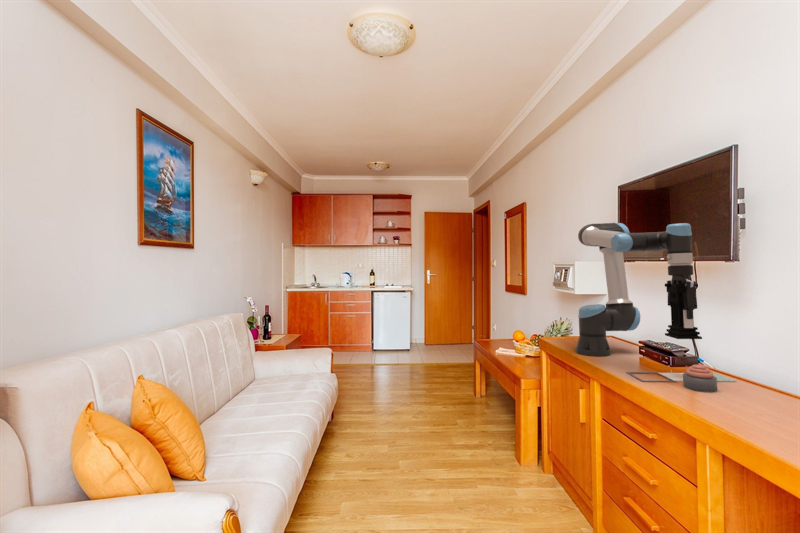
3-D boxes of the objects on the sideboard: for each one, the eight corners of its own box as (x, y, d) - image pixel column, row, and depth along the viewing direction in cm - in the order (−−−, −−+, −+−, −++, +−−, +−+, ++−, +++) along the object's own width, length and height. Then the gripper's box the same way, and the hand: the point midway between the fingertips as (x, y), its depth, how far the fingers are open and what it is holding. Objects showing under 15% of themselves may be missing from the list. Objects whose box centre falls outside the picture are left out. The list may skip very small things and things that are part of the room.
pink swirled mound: (681, 372, 129) (680, 363, 129) (703, 372, 128) (703, 363, 128) (695, 378, 122) (694, 368, 122) (718, 378, 121) (718, 368, 121)
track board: (626, 373, 144) (626, 371, 144) (714, 373, 141) (713, 372, 141) (642, 381, 133) (642, 380, 133) (738, 382, 129) (738, 381, 129)
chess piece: (687, 335, 140) (685, 283, 140) (702, 339, 132) (699, 283, 132) (664, 335, 141) (662, 283, 141) (677, 339, 133) (675, 284, 133)
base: (677, 383, 130) (676, 372, 130) (704, 383, 129) (704, 372, 129) (694, 392, 121) (694, 380, 121) (724, 392, 120) (723, 380, 120)
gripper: (655, 265, 147) (657, 322, 146) (685, 264, 128) (687, 330, 127) (675, 265, 146) (678, 322, 145) (709, 264, 127) (711, 330, 126)
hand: (682, 326), depth 136 cm, fingers closed on chess piece, 6 cm apart
